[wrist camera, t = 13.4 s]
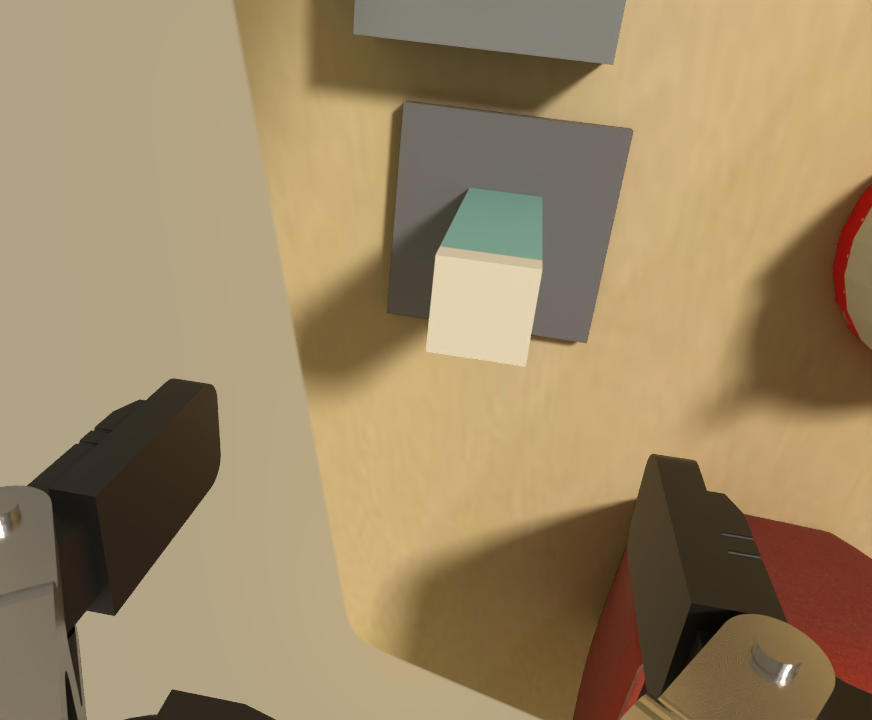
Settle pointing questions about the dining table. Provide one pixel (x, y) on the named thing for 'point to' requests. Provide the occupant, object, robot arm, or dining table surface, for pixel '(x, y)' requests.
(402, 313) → the mat
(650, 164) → the dining table surface
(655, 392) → the dining table surface
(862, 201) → the kitchen timer
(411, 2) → the grey square socket block
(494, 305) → the plug
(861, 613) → the plant pot
